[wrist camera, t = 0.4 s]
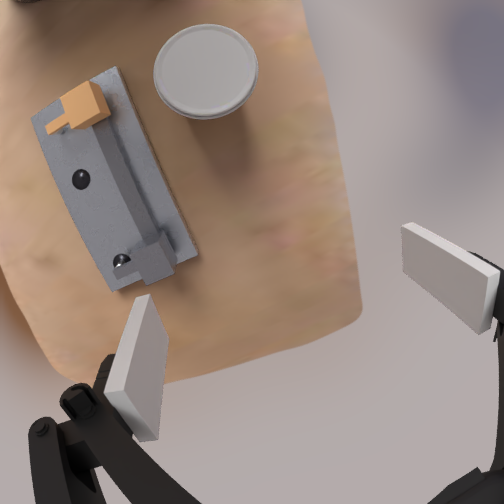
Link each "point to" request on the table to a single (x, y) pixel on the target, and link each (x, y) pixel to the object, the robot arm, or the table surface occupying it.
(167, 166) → the table surface
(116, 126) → the plate
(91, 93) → the block
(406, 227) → the robot arm
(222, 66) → the coffee cup
